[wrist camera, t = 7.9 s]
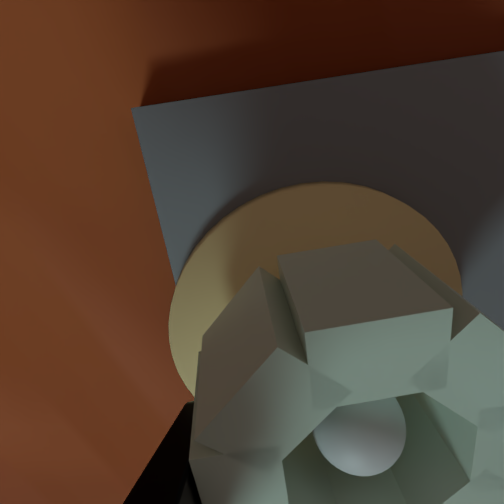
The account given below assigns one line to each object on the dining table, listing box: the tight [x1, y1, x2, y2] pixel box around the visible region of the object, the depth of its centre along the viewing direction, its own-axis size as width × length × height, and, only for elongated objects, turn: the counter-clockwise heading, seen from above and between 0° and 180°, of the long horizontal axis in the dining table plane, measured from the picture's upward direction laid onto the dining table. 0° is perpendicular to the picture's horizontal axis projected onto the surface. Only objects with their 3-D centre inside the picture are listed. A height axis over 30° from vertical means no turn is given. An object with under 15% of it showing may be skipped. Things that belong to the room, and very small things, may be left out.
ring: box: [189, 239, 504, 504], centre depth 8 cm, size 7×7×3 cm
